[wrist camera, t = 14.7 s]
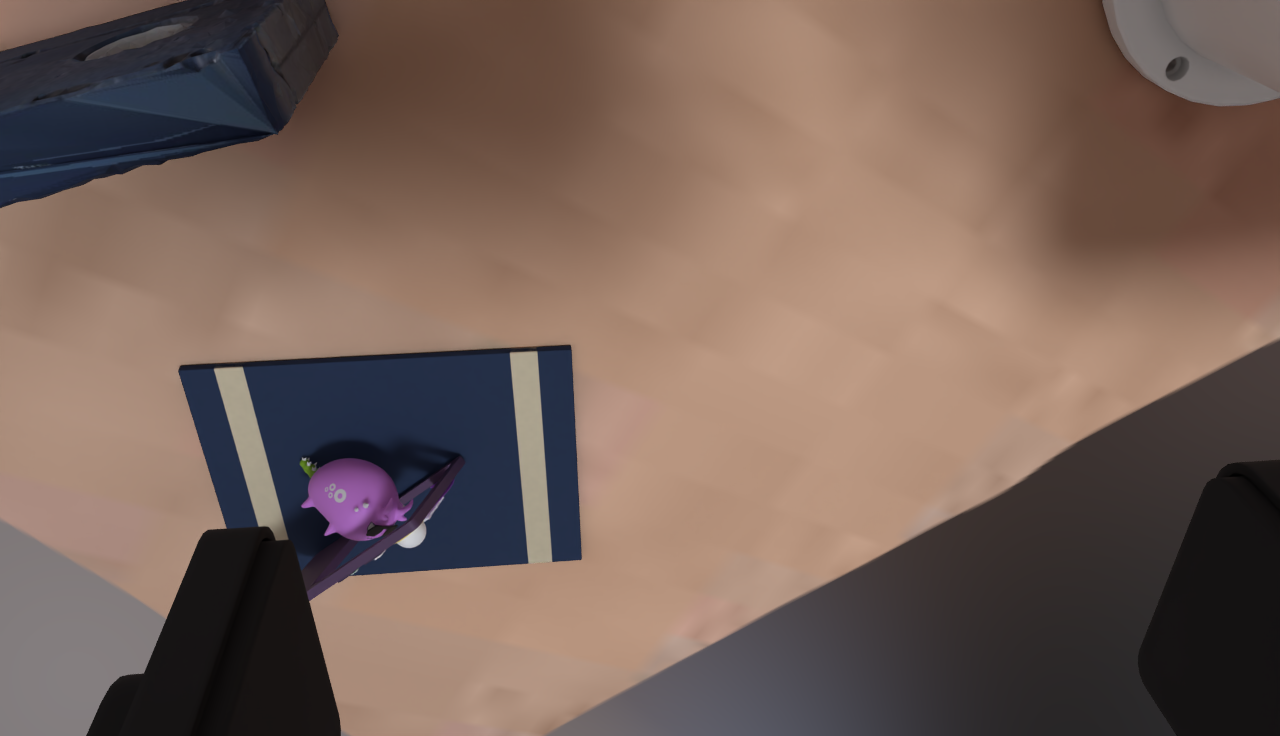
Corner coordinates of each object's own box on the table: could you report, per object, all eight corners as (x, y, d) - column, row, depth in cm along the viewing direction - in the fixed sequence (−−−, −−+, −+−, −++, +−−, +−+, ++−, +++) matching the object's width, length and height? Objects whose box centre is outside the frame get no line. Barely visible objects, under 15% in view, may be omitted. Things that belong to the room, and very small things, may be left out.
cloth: (571, 344, 41) (571, 350, 41) (581, 554, 48) (581, 560, 47) (180, 365, 40) (177, 370, 40) (245, 577, 47) (243, 583, 46)
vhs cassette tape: (-151, 172, 35) (-367, 308, 26) (-207, 91, 33) (-457, 209, 25) (349, 51, 34) (290, 152, 26) (316, -37, 32) (242, 39, 24)
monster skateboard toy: (263, 653, 39) (430, 542, 37) (177, 555, 39) (342, 436, 36) (331, 571, 46) (477, 473, 44) (258, 486, 45) (403, 381, 43)
